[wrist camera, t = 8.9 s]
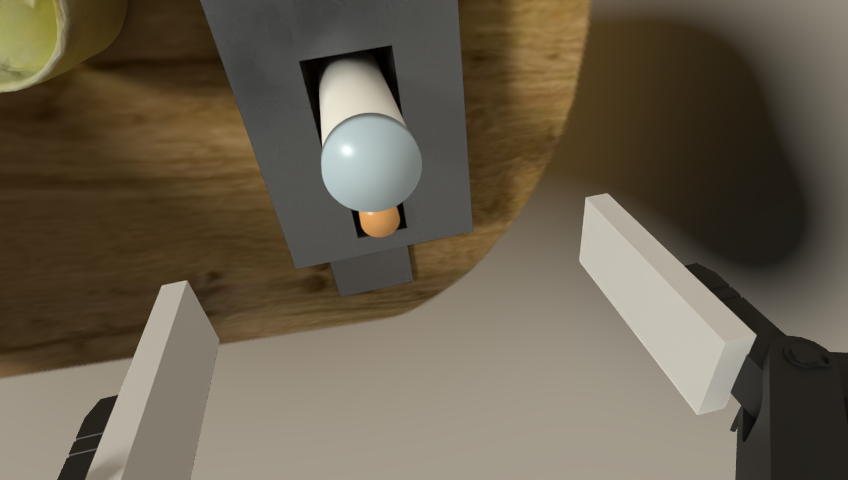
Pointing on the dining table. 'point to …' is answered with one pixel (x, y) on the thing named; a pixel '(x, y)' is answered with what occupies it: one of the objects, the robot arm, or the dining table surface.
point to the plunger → (380, 222)
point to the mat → (372, 271)
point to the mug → (53, 37)
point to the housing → (301, 127)
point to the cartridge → (364, 136)
